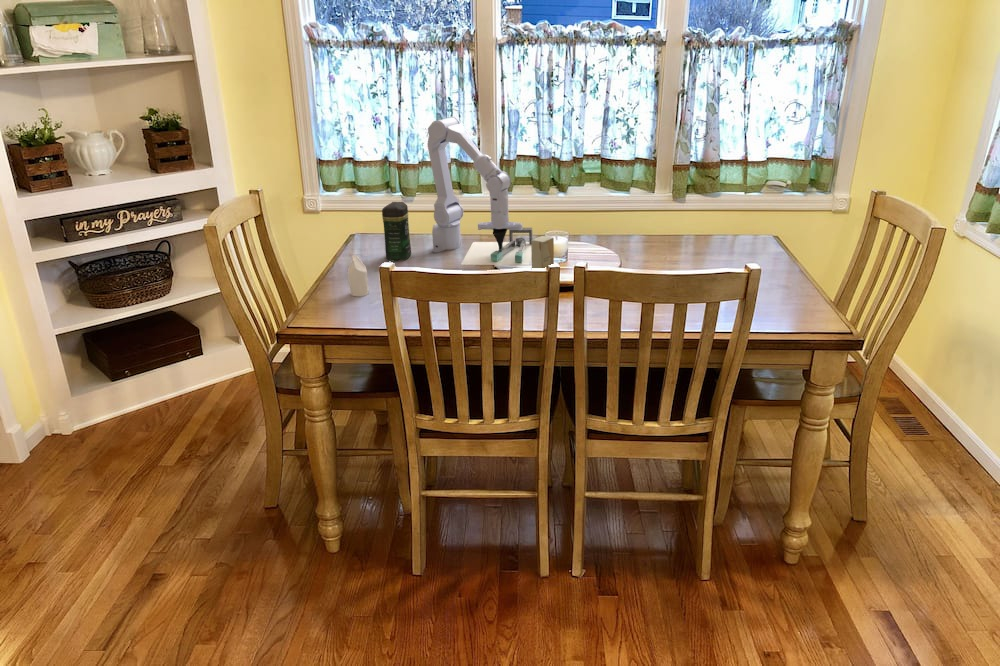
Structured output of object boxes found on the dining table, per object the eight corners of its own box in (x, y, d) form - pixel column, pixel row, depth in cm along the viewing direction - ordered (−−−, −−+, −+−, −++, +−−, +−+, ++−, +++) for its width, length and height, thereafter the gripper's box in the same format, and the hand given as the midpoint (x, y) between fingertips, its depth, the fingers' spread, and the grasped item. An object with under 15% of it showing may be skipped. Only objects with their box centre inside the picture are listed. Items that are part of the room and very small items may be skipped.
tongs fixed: (516, 244, 271) (516, 237, 270) (528, 244, 270) (527, 237, 269) (509, 262, 252) (509, 255, 251) (522, 262, 252) (521, 255, 251)
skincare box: (543, 281, 238) (542, 242, 234) (531, 278, 241) (530, 240, 236) (554, 275, 243) (554, 236, 238) (543, 272, 246) (542, 234, 241)
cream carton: (361, 257, 227) (342, 258, 228) (366, 296, 232) (347, 296, 233) (367, 251, 233) (348, 251, 233) (371, 289, 238) (353, 289, 238)
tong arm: (510, 246, 268) (510, 240, 267) (516, 246, 267) (516, 240, 266) (490, 260, 254) (490, 254, 253) (497, 261, 253) (496, 254, 253)
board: (461, 268, 253) (460, 264, 252) (473, 245, 276) (473, 241, 275) (529, 268, 250) (529, 264, 249) (536, 245, 273) (536, 241, 272)
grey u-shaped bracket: (510, 241, 273) (510, 227, 271) (532, 241, 272) (532, 227, 270) (509, 243, 271) (509, 230, 269) (531, 243, 270) (531, 230, 268)
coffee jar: (406, 262, 261) (401, 207, 254) (383, 261, 262) (378, 207, 255) (414, 253, 270) (409, 199, 262) (392, 253, 271) (387, 199, 264)
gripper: (475, 213, 253) (477, 254, 259) (520, 213, 251) (521, 254, 257) (479, 208, 260) (480, 247, 265) (522, 208, 258) (523, 248, 263)
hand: (500, 250), depth 261 cm, fingers closed, pressing on tong arm
